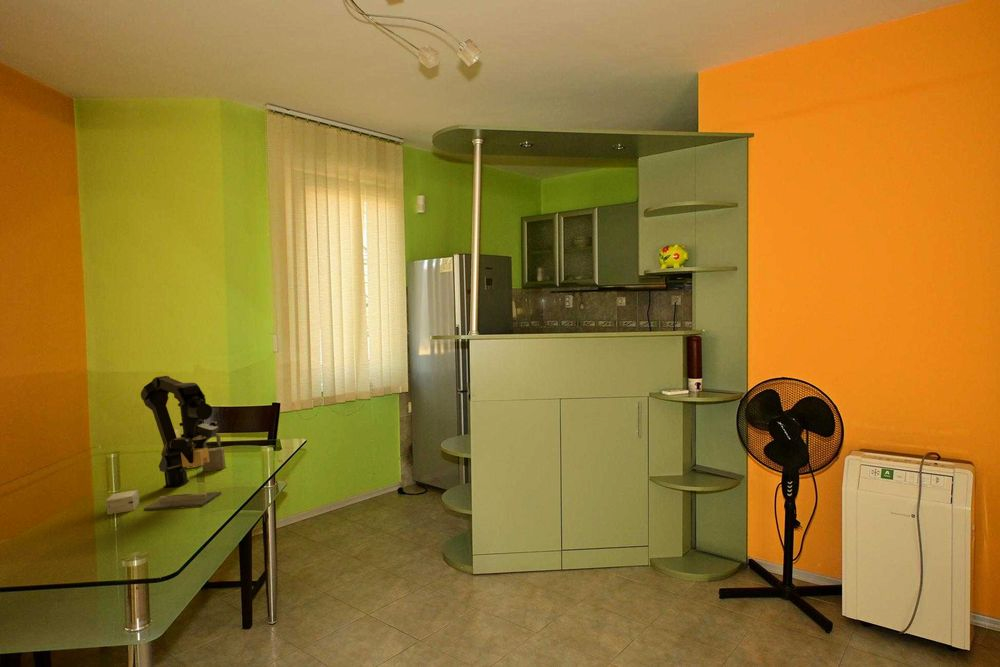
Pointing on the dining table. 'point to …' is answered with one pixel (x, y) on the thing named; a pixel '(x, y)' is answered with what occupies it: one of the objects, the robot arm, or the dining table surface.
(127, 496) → the small box
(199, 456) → the block
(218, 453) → the padlock
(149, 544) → the dining table surface
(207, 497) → the plate
